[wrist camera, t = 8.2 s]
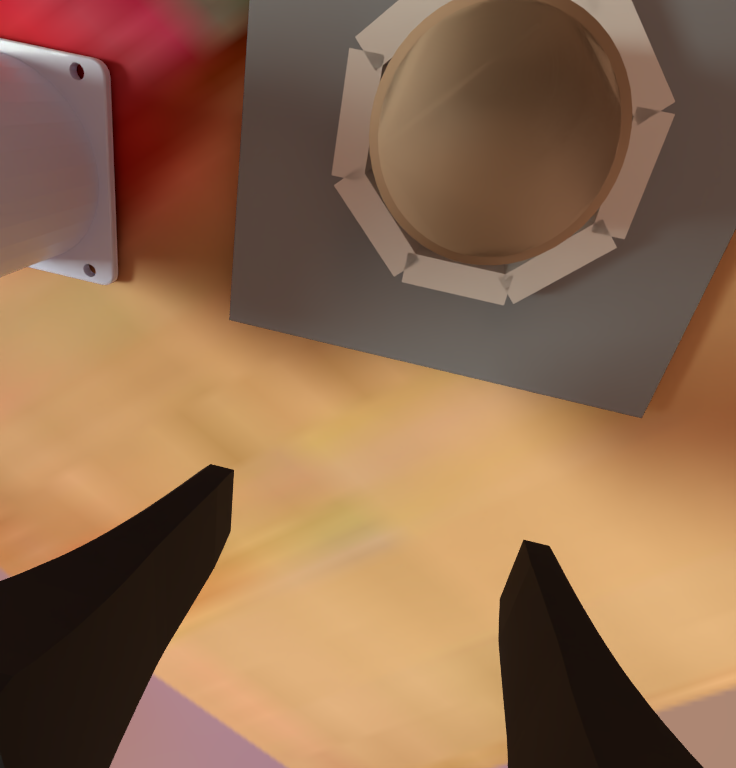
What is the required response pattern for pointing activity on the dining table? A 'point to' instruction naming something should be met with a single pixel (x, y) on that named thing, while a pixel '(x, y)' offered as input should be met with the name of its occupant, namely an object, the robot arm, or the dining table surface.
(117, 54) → the dining table surface
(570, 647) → the robot arm
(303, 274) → the collar board
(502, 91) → the cup
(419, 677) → the dining table surface
